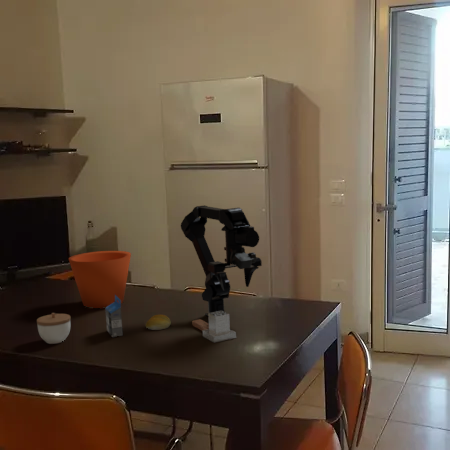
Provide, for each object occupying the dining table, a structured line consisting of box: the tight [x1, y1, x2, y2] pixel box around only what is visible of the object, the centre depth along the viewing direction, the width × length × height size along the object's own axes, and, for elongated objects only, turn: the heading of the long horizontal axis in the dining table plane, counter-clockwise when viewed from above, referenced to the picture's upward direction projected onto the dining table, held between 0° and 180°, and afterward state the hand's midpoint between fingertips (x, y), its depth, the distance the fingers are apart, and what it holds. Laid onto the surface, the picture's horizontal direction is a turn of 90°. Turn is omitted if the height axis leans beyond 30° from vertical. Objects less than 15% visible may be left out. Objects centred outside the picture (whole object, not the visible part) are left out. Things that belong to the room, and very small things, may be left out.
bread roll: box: [145, 314, 171, 331], centre depth 204 cm, size 8×9×4 cm
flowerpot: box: [68, 250, 132, 309], centre depth 239 cm, size 25×25×20 cm
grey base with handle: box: [191, 318, 237, 343], centre depth 195 cm, size 21×8×5 cm, turn 29°
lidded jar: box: [36, 312, 72, 345], centre depth 193 cm, size 11×11×9 cm
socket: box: [207, 310, 231, 335], centre depth 189 cm, size 5×5×6 cm
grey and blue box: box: [104, 295, 124, 338], centre depth 198 cm, size 9×4×12 cm, turn 23°
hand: (235, 288), depth 204 cm, fingers open, 9 cm apart
